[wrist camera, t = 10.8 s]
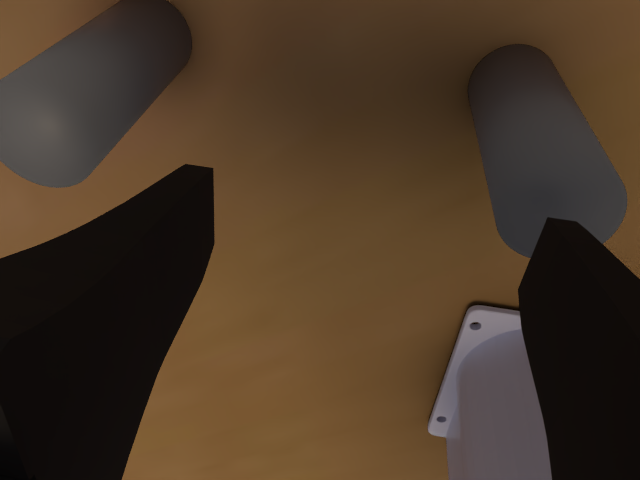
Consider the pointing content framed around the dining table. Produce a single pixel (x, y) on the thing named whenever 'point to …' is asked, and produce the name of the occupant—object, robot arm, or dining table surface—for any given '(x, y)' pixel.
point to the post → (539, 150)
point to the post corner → (89, 91)
